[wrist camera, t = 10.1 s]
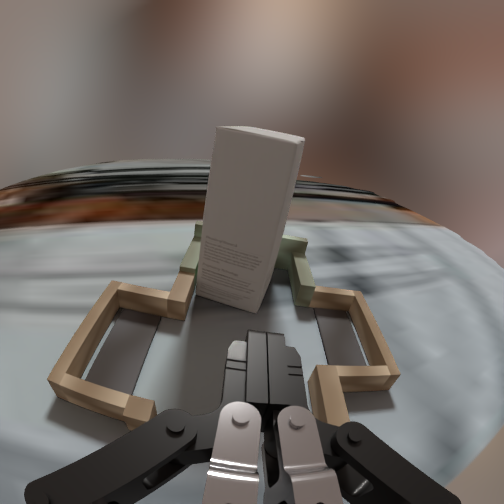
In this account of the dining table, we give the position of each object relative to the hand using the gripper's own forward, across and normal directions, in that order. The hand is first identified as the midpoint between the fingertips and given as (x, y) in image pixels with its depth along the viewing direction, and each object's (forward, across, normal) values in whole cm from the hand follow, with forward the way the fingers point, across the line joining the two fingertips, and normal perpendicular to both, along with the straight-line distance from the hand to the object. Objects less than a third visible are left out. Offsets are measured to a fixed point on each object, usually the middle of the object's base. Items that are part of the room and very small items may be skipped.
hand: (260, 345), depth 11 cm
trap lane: (+9, 0, +8) cm, 12 cm away
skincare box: (+16, +1, +8) cm, 18 cm away
